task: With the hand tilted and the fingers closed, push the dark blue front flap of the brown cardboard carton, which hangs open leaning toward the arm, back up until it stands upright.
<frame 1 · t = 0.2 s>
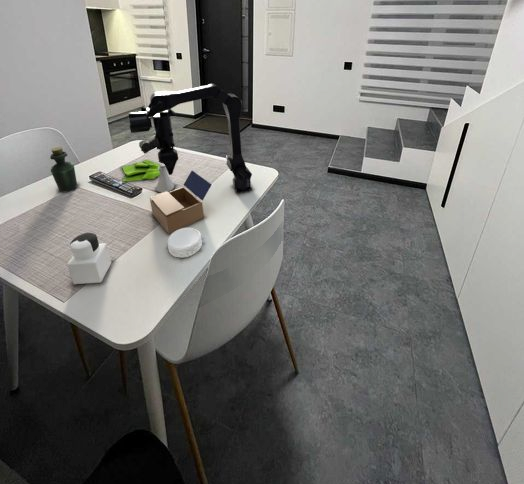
hand: (169, 169, 105), 14 cm above the table, tool pointing down, fingers open, 9 cm apart
cloth: (142, 170, 135), on the table
white round disc: (185, 246, 88), on the table
flap: (196, 184, 104), point 10 cm above the table, hinge at 130.0°
flask: (165, 188, 120), on the table
carton: (177, 216, 102), on the table
potion bottle: (68, 188, 120), on the table
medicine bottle: (93, 273, 79), on the table
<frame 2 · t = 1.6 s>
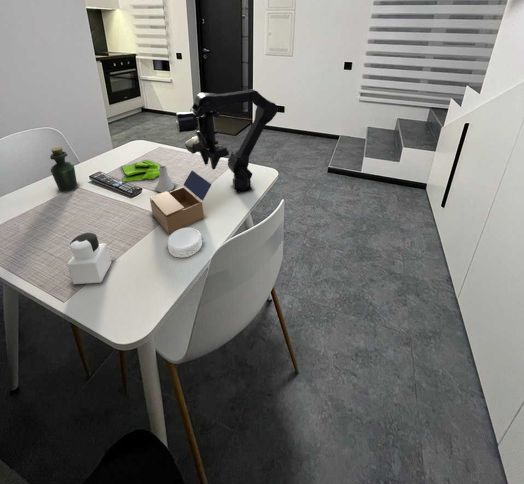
hand: (210, 166, 109), 13 cm above the table, tool pointing down, fingers open, 5 cm apart
nothing on the table moved.
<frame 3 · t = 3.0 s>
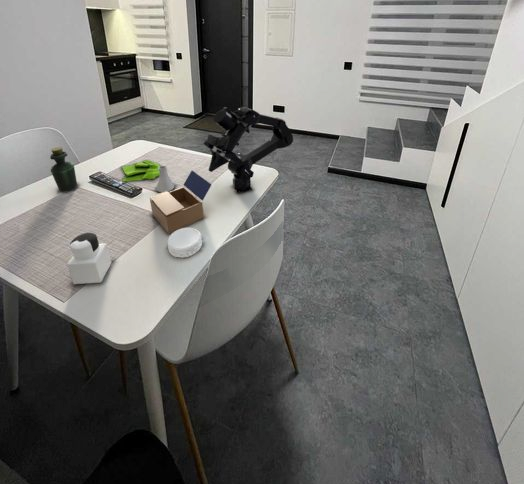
hand: (209, 171, 106), 13 cm above the table, tool tilted 45°, fingers closed
nothing on the table moved.
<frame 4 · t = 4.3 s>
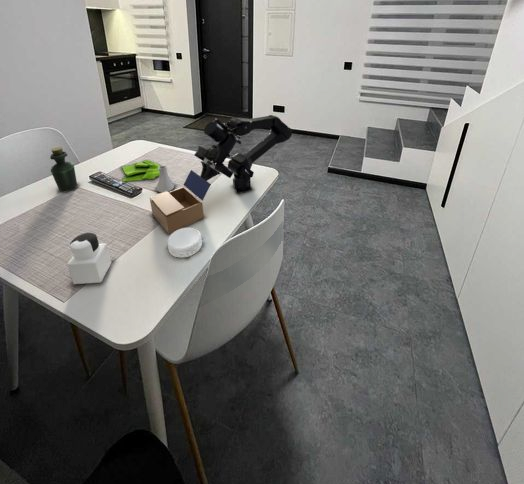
hand: (200, 183, 104), 10 cm above the table, tool tilted 45°, fingers closed
flap: (196, 184, 104), point 10 cm above the table, hinge at 126.8°
everything else where it was.
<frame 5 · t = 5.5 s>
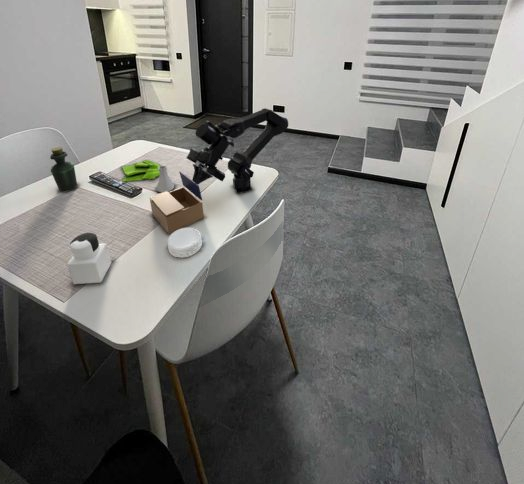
hand: (192, 186, 103), 10 cm above the table, tool tilted 45°, fingers closed, pressing on flap
flap: (190, 185, 102), point 10 cm above the table, hinge at 82.4°, touching gripper
everything else where it was.
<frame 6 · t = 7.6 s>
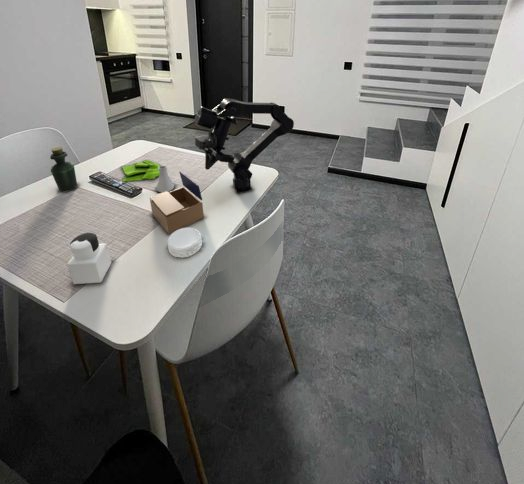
hand: (206, 169, 109), 12 cm above the table, tool tilted 25°, fingers closed
flap: (190, 185, 102), point 10 cm above the table, hinge at 82.4°
everything else where it was.
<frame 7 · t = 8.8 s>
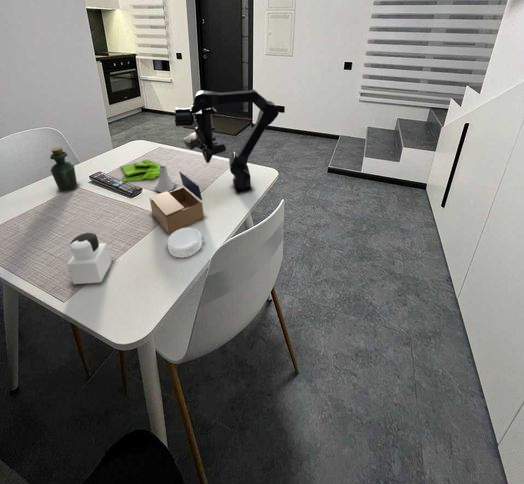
hand: (207, 162, 113), 13 cm above the table, tool pointing down, fingers closed
nothing on the table moved.
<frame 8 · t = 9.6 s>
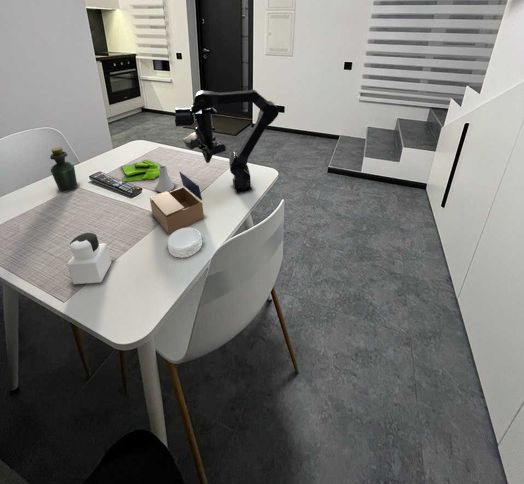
hand: (207, 162, 113), 13 cm above the table, tool pointing down, fingers closed
nothing on the table moved.
at the end: flap at +82° (first picture: +130°) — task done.
